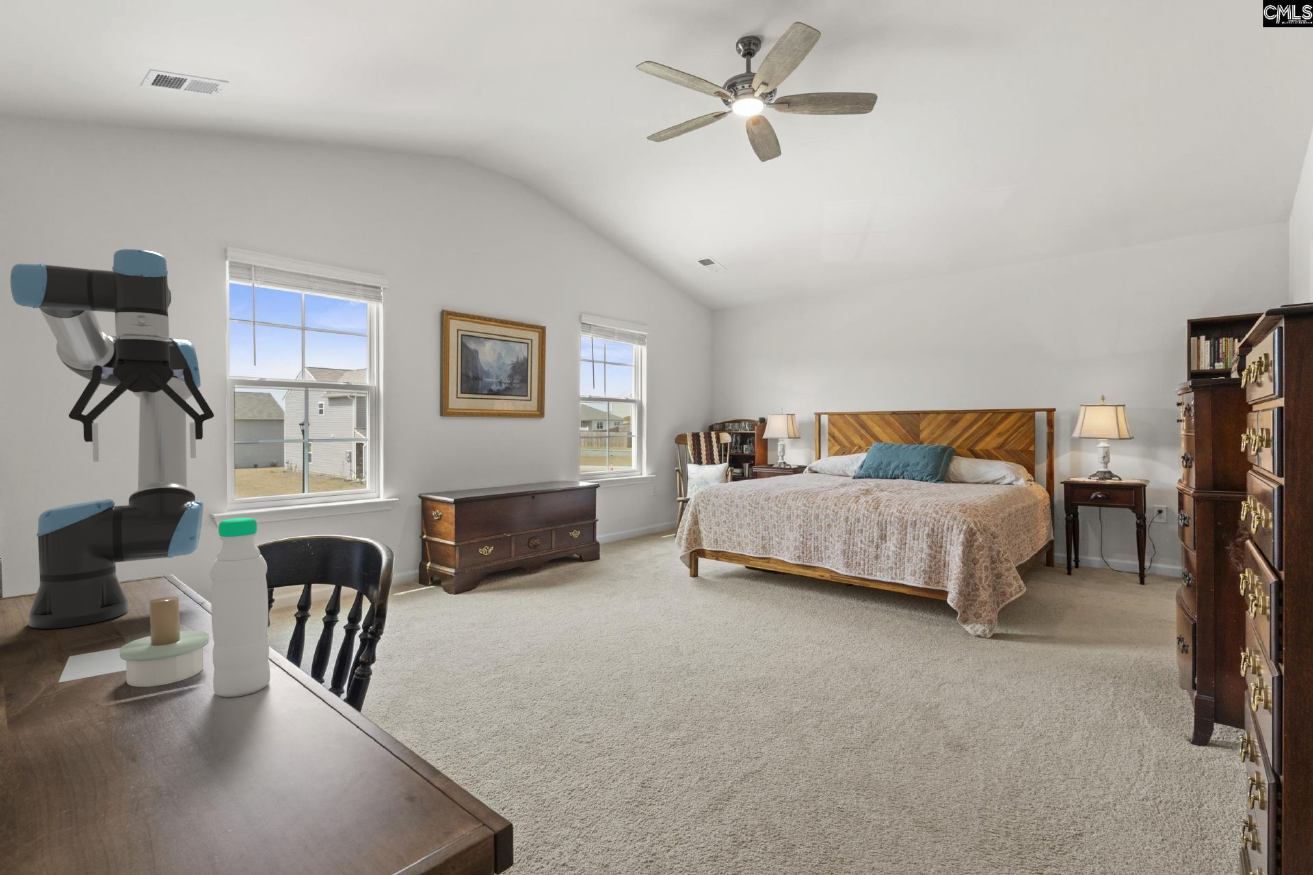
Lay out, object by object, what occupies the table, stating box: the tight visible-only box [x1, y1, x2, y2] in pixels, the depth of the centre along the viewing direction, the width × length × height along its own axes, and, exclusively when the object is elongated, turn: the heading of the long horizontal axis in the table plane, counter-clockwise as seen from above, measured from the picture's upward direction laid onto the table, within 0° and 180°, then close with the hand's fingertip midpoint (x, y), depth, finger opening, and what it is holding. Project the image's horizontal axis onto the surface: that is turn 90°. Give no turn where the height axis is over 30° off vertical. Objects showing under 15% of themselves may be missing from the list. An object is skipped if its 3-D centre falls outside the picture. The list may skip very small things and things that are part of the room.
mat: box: [58, 647, 126, 684], centre depth 109 cm, size 14×14×1 cm
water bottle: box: [209, 517, 271, 698], centre depth 97 cm, size 7×7×25 cm
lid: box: [119, 596, 210, 661], centre depth 102 cm, size 11×11×8 cm
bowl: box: [125, 647, 204, 688], centre depth 102 cm, size 9×9×4 cm
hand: (146, 459), depth 118 cm, fingers open, 13 cm apart
